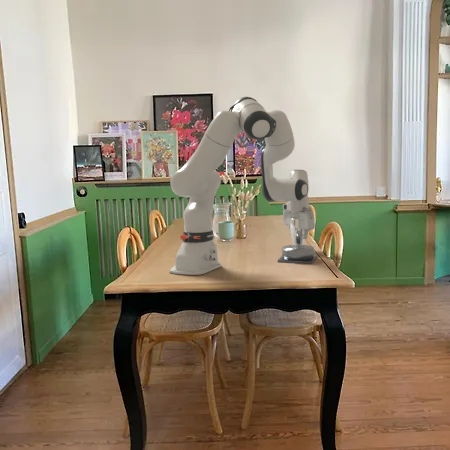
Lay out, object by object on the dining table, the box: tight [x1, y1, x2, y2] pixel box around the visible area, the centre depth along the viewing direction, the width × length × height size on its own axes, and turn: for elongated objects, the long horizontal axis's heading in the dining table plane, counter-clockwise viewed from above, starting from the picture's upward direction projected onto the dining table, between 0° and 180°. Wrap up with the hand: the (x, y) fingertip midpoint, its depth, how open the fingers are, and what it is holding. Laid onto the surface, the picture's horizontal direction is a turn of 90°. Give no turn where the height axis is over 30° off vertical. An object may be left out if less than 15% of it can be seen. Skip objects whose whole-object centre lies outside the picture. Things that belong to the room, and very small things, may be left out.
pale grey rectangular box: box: [289, 218, 306, 245], centre depth 216 cm, size 7×7×15 cm
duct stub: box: [277, 244, 319, 265], centre depth 201 cm, size 14×14×5 cm
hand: (298, 237), depth 216 cm, fingers open, 8 cm apart
